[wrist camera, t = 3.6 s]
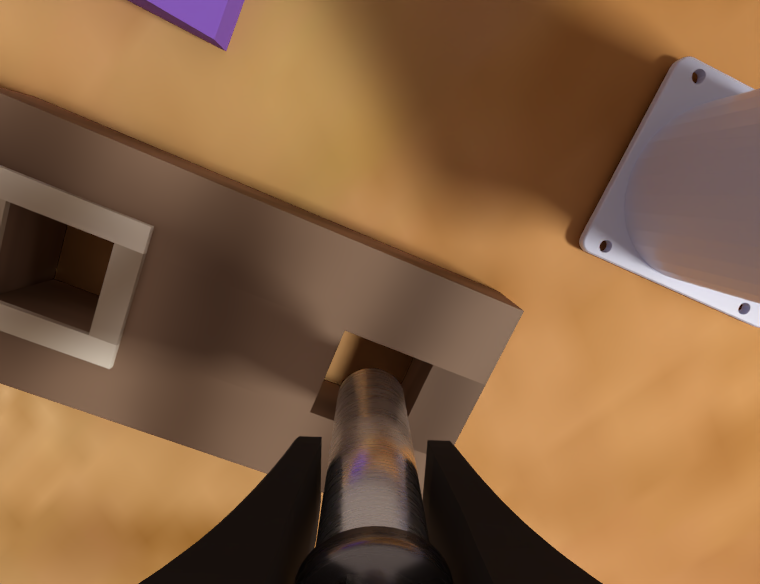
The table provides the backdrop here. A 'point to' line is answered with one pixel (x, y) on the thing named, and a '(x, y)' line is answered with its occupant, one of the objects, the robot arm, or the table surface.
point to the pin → (372, 494)
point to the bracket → (199, 17)
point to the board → (215, 299)
